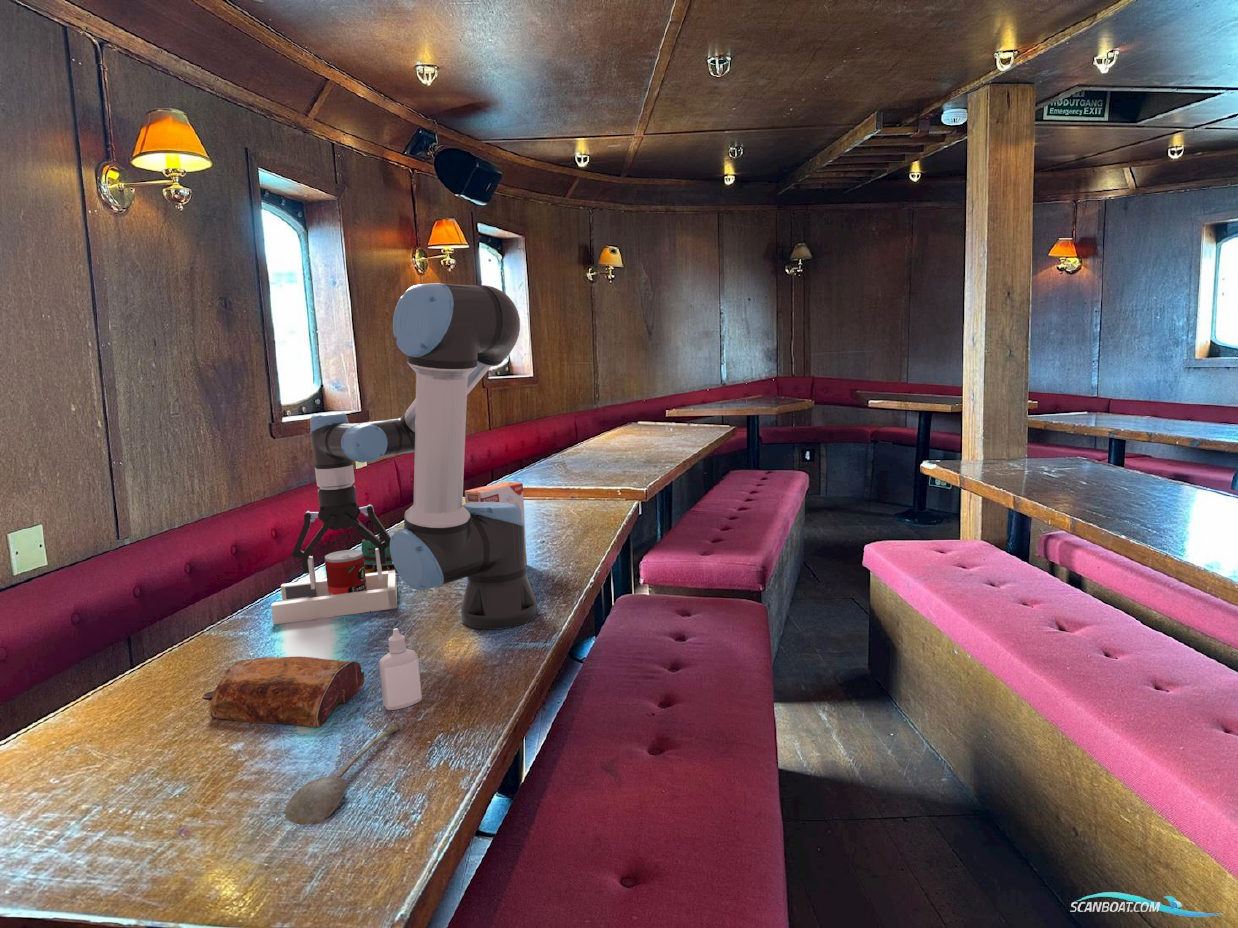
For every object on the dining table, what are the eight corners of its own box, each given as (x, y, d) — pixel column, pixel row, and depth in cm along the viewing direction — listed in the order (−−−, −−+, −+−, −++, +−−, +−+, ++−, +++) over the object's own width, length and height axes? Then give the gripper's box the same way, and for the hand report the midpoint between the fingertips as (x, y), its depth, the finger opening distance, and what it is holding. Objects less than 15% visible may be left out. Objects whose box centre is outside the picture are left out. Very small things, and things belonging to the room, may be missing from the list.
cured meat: (245, 669, 129) (240, 632, 128) (379, 674, 125) (374, 636, 124) (167, 724, 112) (159, 682, 111) (318, 732, 107) (312, 688, 106)
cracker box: (487, 580, 172) (480, 492, 169) (469, 576, 176) (462, 490, 173) (529, 565, 183) (523, 481, 180) (511, 561, 187) (506, 480, 184)
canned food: (356, 610, 156) (351, 559, 155) (322, 609, 158) (316, 559, 156) (374, 597, 164) (370, 549, 162) (342, 597, 165) (336, 549, 164)
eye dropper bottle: (418, 709, 112) (411, 633, 110) (380, 711, 111) (373, 635, 109) (424, 695, 116) (417, 622, 114) (387, 698, 116) (380, 625, 114)
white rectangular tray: (396, 607, 157) (395, 589, 156) (273, 624, 150) (270, 605, 149) (396, 586, 171) (395, 570, 170) (284, 601, 164) (282, 583, 164)
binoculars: (409, 527, 187) (383, 533, 177) (410, 569, 187) (384, 577, 178) (381, 525, 190) (353, 531, 181) (382, 566, 191) (354, 574, 181)
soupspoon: (273, 829, 86) (322, 839, 85) (270, 803, 86) (319, 813, 84) (379, 727, 107) (419, 734, 106) (377, 706, 107) (418, 712, 105)
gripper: (397, 477, 164) (407, 570, 167) (275, 489, 157) (287, 586, 160) (397, 482, 157) (407, 579, 160) (269, 495, 150) (282, 596, 153)
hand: (347, 583), depth 160 cm, fingers open, 13 cm apart
